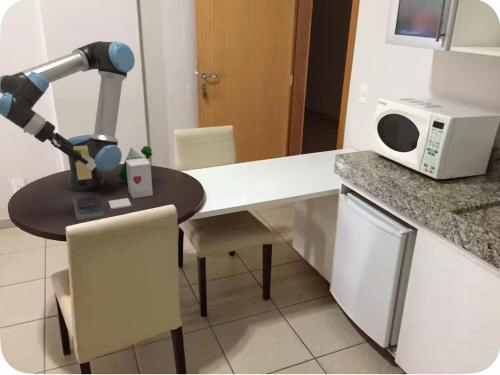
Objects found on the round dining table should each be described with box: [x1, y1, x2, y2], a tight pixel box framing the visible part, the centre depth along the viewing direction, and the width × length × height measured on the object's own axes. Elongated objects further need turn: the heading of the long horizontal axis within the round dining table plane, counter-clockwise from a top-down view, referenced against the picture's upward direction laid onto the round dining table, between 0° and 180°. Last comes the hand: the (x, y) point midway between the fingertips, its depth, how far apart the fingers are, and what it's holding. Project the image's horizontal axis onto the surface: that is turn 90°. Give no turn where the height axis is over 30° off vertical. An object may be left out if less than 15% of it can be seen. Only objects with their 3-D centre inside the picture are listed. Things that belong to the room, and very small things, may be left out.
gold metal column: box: [73, 145, 92, 180], centre depth 164 cm, size 5×5×12 cm
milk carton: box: [117, 142, 154, 185], centre depth 194 cm, size 9×9×20 cm
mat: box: [108, 197, 132, 210], centre depth 176 cm, size 8×8×1 cm
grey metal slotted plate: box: [72, 194, 105, 221], centre depth 171 cm, size 18×10×2 cm, turn 25°
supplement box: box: [125, 158, 154, 199], centre depth 184 cm, size 9×9×15 cm
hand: (93, 165), depth 166 cm, fingers closed on gold metal column, 5 cm apart
